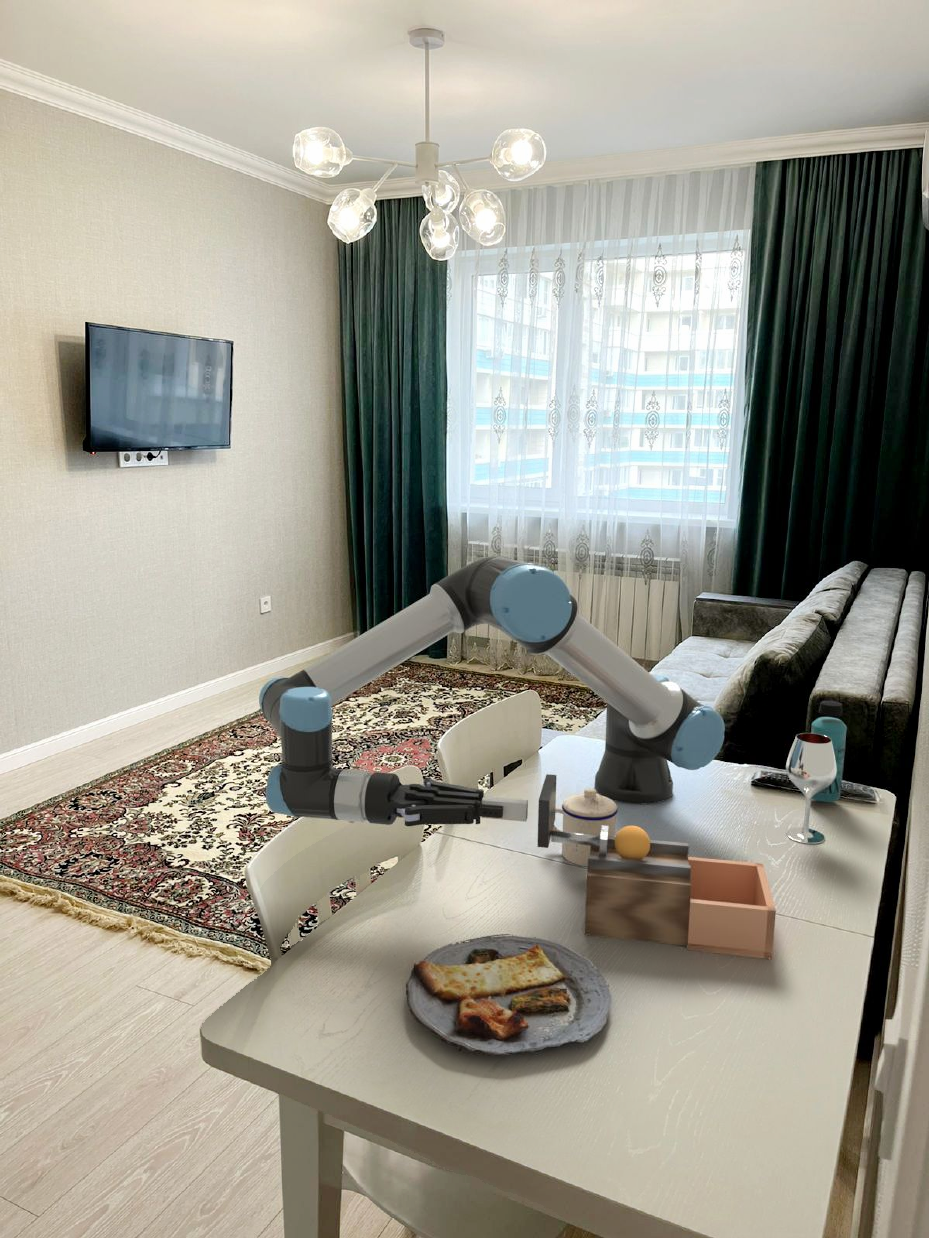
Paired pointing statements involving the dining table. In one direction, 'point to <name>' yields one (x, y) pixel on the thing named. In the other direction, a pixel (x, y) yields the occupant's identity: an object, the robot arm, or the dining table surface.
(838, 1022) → the dining table surface
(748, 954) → the cup
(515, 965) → the food plate
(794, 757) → the wineglass
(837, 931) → the dining table surface
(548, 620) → the robot arm
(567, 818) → the teacup with lid
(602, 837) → the plunger
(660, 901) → the launcher
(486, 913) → the dining table surface
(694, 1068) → the dining table surface
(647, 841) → the ball
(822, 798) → the beverage bottle
